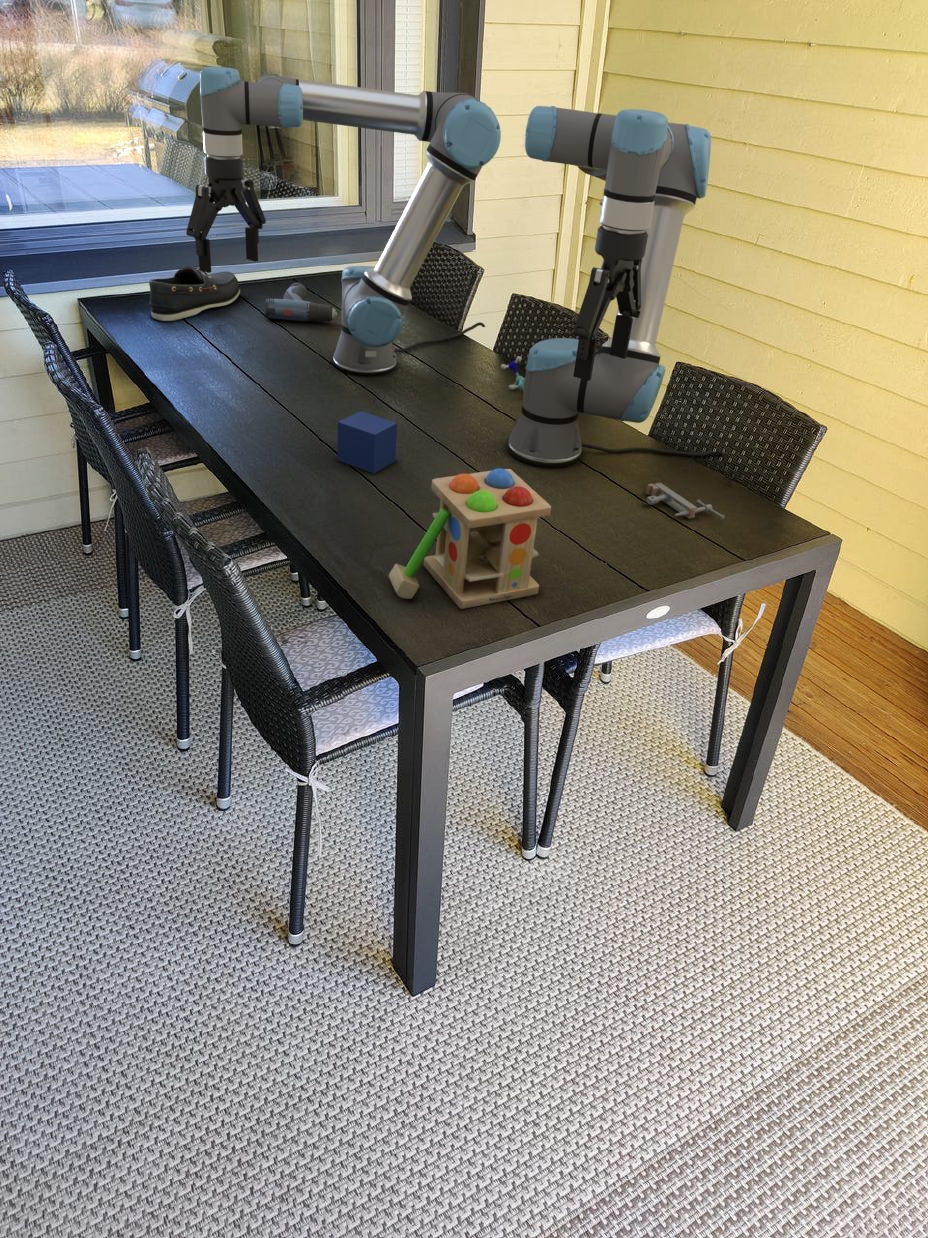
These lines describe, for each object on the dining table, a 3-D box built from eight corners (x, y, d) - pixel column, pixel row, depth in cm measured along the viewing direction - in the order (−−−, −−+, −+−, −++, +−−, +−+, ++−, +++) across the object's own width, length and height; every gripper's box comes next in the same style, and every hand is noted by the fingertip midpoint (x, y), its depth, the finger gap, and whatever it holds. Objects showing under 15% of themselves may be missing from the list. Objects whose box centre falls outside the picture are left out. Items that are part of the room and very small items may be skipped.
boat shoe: (257, 300, 274) (255, 261, 268) (168, 323, 250) (164, 281, 244) (224, 291, 279) (221, 254, 274) (133, 313, 256) (128, 272, 250)
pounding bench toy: (410, 620, 149) (416, 516, 139) (375, 573, 160) (379, 473, 149) (540, 594, 159) (555, 495, 148) (499, 551, 169) (510, 455, 159)
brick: (359, 448, 199) (360, 410, 194) (395, 461, 195) (397, 422, 191) (337, 460, 193) (337, 421, 189) (373, 473, 190) (374, 434, 185)
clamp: (635, 486, 189) (675, 478, 194) (633, 496, 191) (673, 488, 195) (686, 521, 179) (727, 512, 184) (684, 532, 180) (724, 522, 185)
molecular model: (546, 391, 223) (532, 348, 222) (508, 405, 227) (494, 363, 225) (558, 390, 234) (545, 349, 232) (521, 403, 237) (508, 363, 236)
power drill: (344, 304, 276) (335, 327, 259) (277, 298, 275) (264, 321, 258) (344, 285, 273) (335, 306, 256) (277, 279, 272) (264, 300, 255)
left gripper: (254, 147, 206) (258, 251, 218) (161, 158, 188) (171, 271, 200) (280, 153, 202) (283, 259, 214) (189, 165, 185) (197, 280, 197)
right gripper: (633, 211, 156) (611, 342, 167) (563, 236, 137) (543, 381, 149) (678, 220, 153) (652, 353, 164) (611, 247, 134) (588, 394, 146)
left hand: (229, 265), depth 207 cm, fingers open, 13 cm apart
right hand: (600, 367), depth 157 cm, fingers open, 13 cm apart
